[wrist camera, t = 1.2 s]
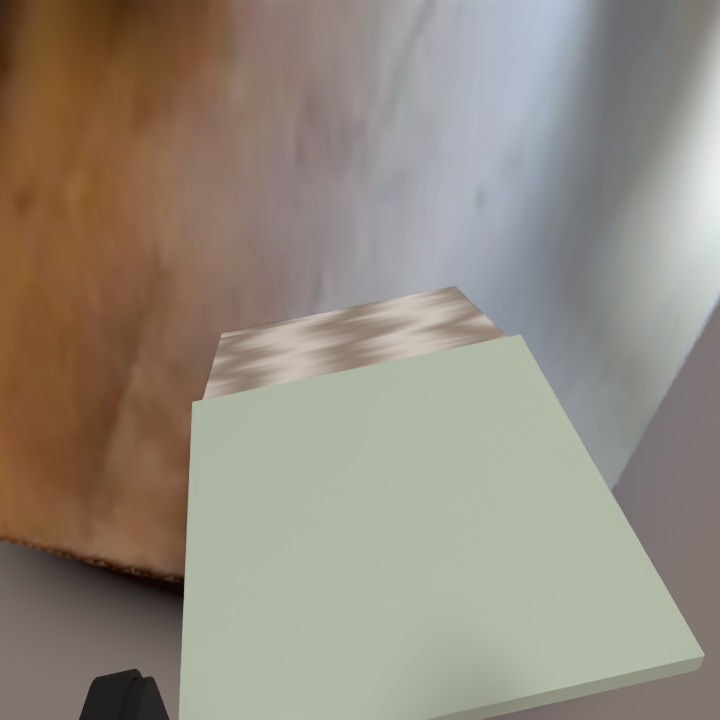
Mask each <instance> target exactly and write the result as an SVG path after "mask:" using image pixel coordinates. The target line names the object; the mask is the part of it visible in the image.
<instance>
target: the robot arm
mask: <svg viewBox="0 0 720 720" xmlns="http://www.w3.org/2000/svg"><path fill="white" fill-rule="evenodd" d="M79 720H169V717H168V715H167V712H166V709H165V706H164V704H163V701H162V699H161V696H160V693H159V690H158V687H157V685H156V682H155V680H154V678H153V677H145V678H143V677H142V676H141V673H140V672H139V671H138V670H137V669H132V670H128V671H123V672H118V673H114V674H109V675H105V676H100V677H96V678H95V679H94V680H93V682H92V684H91V686H90V689H89V692H88V695H87V698H86V701H85V704H84V707H83V710H82V713H81V716H80V718H79Z"/></svg>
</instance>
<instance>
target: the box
mask: <svg viewBox="0 0 720 720" xmlns="http://www.w3.org/2000/svg"><path fill="white" fill-rule="evenodd" d="M505 337H507V336H506V335H505V334H504V333H503V332H502V331H501V330H500V329H499V328H498V327H497V326H496V325H495V324H494V323H493V322H492V321H491V320H490V319H489V318H488V317H487V316H485V315H484V314H483V313H482V312H481V311H480V310H479V309H478V308H477V307H476V306H475V305H474V304H473V303H472V302H471V301H470V300H469V299H468V298H467V297H466V296H465V295H464V294H463V293H462V292H461V291H460V290H459V289H458V288H456V287H450V288H445V289H440V290H435V291H430V292H425V293H420V294H415V295H410V296H405V297H401V298H396V299H391V300H386V301H381V302H376V303H371V304H366V305H361V306H356V307H351V308H346V309H341V310H336V311H331V312H326V313H321V314H317V315H312V316H307V317H302V318H297V319H292V320H287V321H282V322H277V323H272V324H267V325H262V326H257V327H252V328H247V329H242V330H238V331H233V332H228V333H223V334H221V338H220V341H219V345H218V348H217V352H216V355H215V359H214V362H213V366H212V369H211V373H210V376H209V380H208V383H207V387H206V390H205V394H204V397H203V400H204V399H209V398H214V397H219V396H224V395H229V394H233V393H238V392H243V391H248V390H253V389H258V388H263V387H267V386H272V385H277V384H282V383H287V382H292V381H296V380H301V379H306V378H311V377H316V376H321V375H326V374H330V373H335V372H340V371H345V370H350V369H355V368H360V367H364V366H369V365H374V364H379V363H384V362H389V361H393V360H398V359H403V358H408V357H413V356H418V355H423V354H427V353H432V352H437V351H442V350H447V349H452V348H456V347H461V346H466V345H471V344H476V343H481V342H486V341H490V340H495V339H500V338H505Z"/></svg>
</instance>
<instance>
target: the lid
mask: <svg viewBox="0 0 720 720" xmlns="http://www.w3.org/2000/svg"><path fill="white" fill-rule="evenodd" d="M183 610H184V611H183V632H182V656H181V679H180V701H179V702H180V704H179V720H481V719H486V718H490V717H495V716H499V715H503V714H508V713H512V712H516V711H521V710H525V709H529V708H533V707H538V706H542V705H547V704H551V703H555V702H560V701H564V700H568V699H572V698H577V697H581V696H586V695H590V694H594V693H599V692H603V691H608V690H612V689H616V688H620V687H625V686H629V685H634V684H638V683H642V682H647V681H651V680H655V679H660V678H664V677H668V676H673V675H677V674H681V673H686V672H690V671H695V670H698V669H699V667H700V665H701V663H702V661H703V659H704V656H705V655H704V653H703V651H702V650H701V648H700V646H699V644H698V643H697V641H696V639H695V637H694V636H693V634H692V632H691V631H690V629H689V627H688V626H687V624H686V622H685V620H684V618H683V617H682V615H681V613H680V611H679V610H678V608H677V606H676V605H675V603H674V601H673V599H672V597H671V596H670V594H669V592H668V590H667V589H666V587H665V585H664V583H663V582H662V580H661V578H660V576H659V575H658V573H657V571H656V569H655V568H654V566H653V564H652V562H651V561H650V559H649V557H648V556H647V554H646V552H645V550H644V548H643V547H642V545H641V543H640V541H639V540H638V538H637V536H636V535H635V533H634V531H633V530H632V527H631V526H630V524H629V523H628V521H627V519H626V517H625V515H624V513H623V512H622V510H621V508H620V507H619V505H618V503H617V501H616V500H615V498H614V496H613V494H612V493H611V491H610V489H609V487H608V486H607V484H606V482H605V480H604V479H603V477H602V475H601V473H600V472H599V470H598V468H597V466H596V465H595V463H594V461H593V459H592V458H591V456H590V454H589V452H588V451H587V449H586V447H585V445H584V444H583V442H582V440H581V438H580V437H579V435H578V433H577V431H576V430H575V428H574V426H573V424H572V423H571V421H570V419H569V417H568V416H567V414H566V412H565V410H564V409H563V407H562V405H561V403H560V402H559V400H558V398H557V396H556V395H555V393H554V391H553V389H552V388H551V386H550V384H549V383H548V381H547V379H546V377H545V376H544V374H543V372H542V370H541V369H540V367H539V365H538V363H537V362H536V360H535V358H534V356H533V355H532V353H531V351H530V349H529V348H528V346H527V344H526V342H525V341H524V339H523V337H522V335H521V334H519V335H515V336H510V337H505V338H500V339H495V340H490V341H486V342H481V343H476V344H471V345H466V346H461V347H456V348H452V349H447V350H442V351H437V352H432V353H427V354H423V355H418V356H413V357H408V358H403V359H398V360H393V361H389V362H384V363H379V364H374V365H369V366H364V367H360V368H355V369H350V370H345V371H340V372H335V373H330V374H326V375H321V376H316V377H311V378H306V379H301V380H296V381H292V382H287V383H282V384H277V385H272V386H267V387H263V388H258V389H253V390H248V391H243V392H238V393H233V394H229V395H224V396H219V397H214V398H209V399H204V400H200V401H195V402H192V424H191V447H190V470H189V493H188V517H187V540H186V563H185V589H184V609H183Z"/></svg>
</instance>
